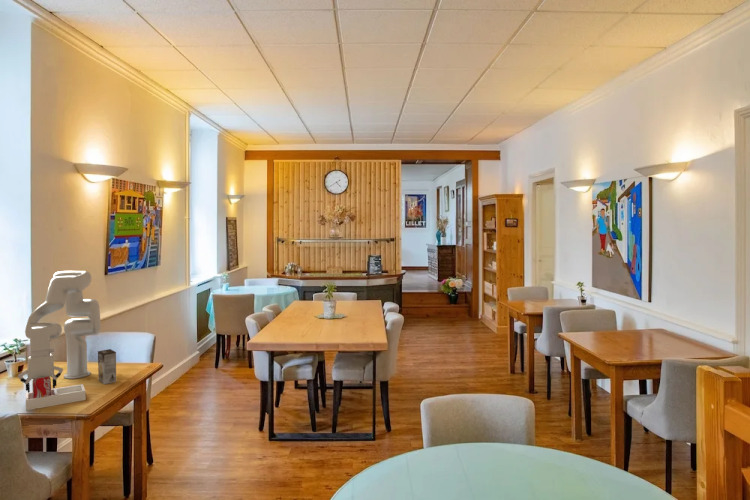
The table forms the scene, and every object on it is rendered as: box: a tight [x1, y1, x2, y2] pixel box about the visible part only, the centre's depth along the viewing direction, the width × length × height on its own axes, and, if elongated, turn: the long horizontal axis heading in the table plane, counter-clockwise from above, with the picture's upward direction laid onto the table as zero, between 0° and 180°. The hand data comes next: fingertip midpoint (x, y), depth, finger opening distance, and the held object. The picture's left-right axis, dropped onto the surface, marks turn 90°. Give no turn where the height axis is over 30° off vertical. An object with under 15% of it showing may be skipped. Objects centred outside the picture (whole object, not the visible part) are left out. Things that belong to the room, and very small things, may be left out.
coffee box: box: [97, 348, 117, 385], centre depth 261 cm, size 9×6×16 cm
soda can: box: [32, 376, 52, 399], centre depth 228 cm, size 7×7×12 cm
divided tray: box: [25, 383, 87, 411], centre depth 231 cm, size 12×23×4 cm, turn 126°
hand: (41, 389), depth 228 cm, fingers open, 9 cm apart
